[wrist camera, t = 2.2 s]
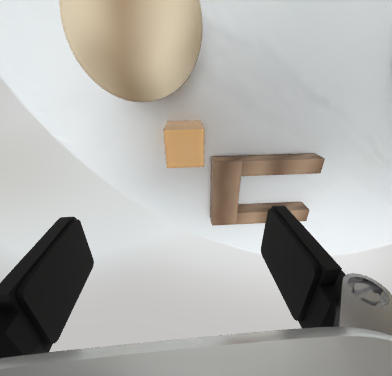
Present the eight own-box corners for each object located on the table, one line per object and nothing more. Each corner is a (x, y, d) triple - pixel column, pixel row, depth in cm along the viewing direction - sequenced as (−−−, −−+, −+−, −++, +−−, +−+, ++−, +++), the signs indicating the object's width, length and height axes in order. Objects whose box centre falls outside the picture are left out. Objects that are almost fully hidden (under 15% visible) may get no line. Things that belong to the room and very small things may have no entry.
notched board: (314, 153, 31) (324, 158, 28) (298, 212, 36) (306, 220, 33) (211, 156, 30) (214, 162, 28) (210, 216, 35) (212, 225, 33)
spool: (192, 4, 22) (202, -74, 11) (194, 94, 26) (202, 101, 15) (109, 3, 21) (36, -78, 11) (124, 96, 25) (82, 103, 15)
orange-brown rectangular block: (200, 120, 27) (204, 129, 22) (200, 152, 30) (203, 166, 24) (167, 121, 27) (163, 130, 22) (169, 152, 29) (167, 167, 24)
